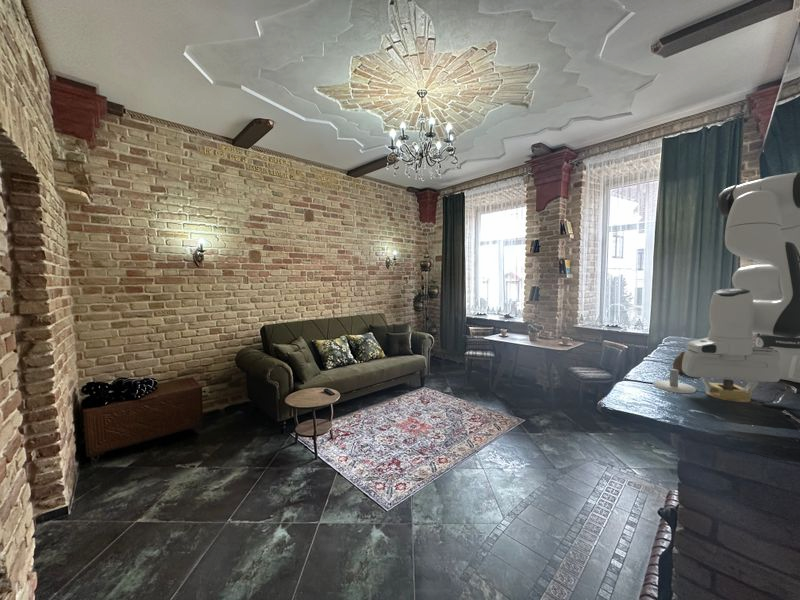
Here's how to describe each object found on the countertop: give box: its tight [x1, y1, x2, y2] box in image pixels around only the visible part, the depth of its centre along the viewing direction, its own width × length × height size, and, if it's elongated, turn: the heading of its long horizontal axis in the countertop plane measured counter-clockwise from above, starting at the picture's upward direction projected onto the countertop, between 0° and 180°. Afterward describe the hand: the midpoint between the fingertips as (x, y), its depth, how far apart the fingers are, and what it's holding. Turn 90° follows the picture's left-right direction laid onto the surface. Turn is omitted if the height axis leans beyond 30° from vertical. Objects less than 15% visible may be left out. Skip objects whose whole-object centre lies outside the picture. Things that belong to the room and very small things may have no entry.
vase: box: [672, 351, 687, 376], centre depth 112 cm, size 7×7×9 cm
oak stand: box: [705, 379, 752, 403], centre depth 90 cm, size 9×9×6 cm
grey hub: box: [652, 368, 697, 394], centre depth 98 cm, size 10×10×7 cm
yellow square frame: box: [709, 382, 752, 402], centre depth 90 cm, size 6×6×2 cm
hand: (727, 393), depth 90 cm, fingers closed on yellow square frame, 6 cm apart
